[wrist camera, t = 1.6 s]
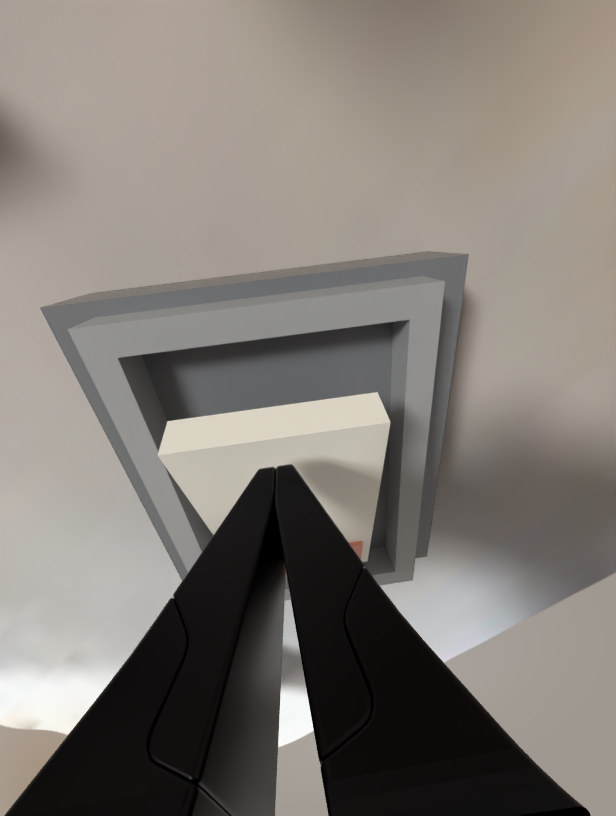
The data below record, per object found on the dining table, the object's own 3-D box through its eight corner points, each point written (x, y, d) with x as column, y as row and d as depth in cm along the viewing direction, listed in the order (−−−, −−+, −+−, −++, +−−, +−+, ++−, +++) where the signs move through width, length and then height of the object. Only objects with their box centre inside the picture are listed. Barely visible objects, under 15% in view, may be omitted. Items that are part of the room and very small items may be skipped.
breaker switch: (361, 536, 16) (368, 564, 15) (245, 554, 15) (245, 583, 15) (377, 391, 9) (392, 426, 8) (167, 421, 9) (156, 459, 8)
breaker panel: (407, 516, 21) (438, 581, 17) (200, 547, 20) (182, 622, 16) (428, 251, 13) (497, 255, 9) (90, 293, 12) (2, 318, 8)
